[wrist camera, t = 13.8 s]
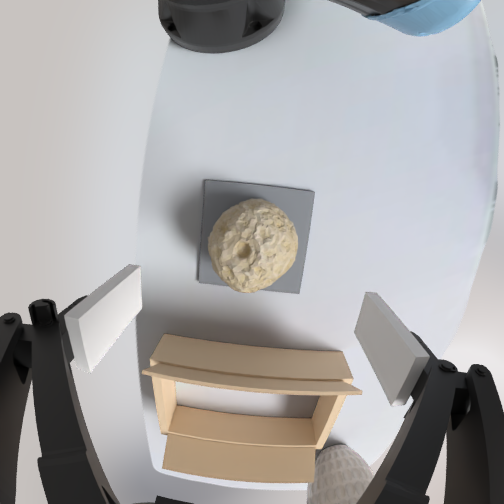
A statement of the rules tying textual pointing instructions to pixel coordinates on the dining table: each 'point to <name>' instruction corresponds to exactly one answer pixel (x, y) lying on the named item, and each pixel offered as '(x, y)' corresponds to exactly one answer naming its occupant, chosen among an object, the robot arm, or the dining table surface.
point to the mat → (288, 200)
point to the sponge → (252, 245)
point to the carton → (245, 426)
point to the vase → (339, 477)
